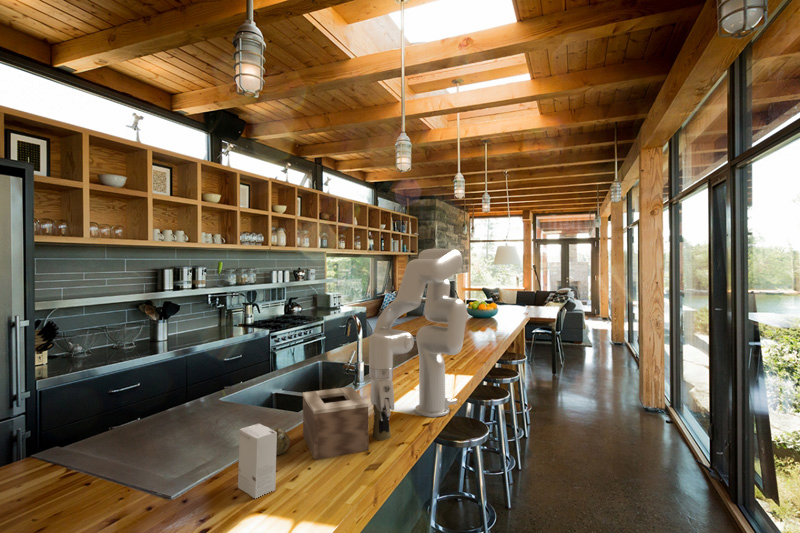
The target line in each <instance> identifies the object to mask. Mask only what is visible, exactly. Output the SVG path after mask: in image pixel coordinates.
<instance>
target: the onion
mask: <svg viewBox="0 0 800 533" xmlns="http://www.w3.org/2000/svg"><path fill="white" fill-rule="evenodd" d="M272 430H273V431H275V432H277V446H276V456H279V455H282V454H284V453H285V452H287V450H288V449H289V447H290V445H291V438H290V435H289V434H288V432H286V431H285V430H283V428H281V427H279V428H278V427H277V426H276V427H274V429H272Z"/></svg>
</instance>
